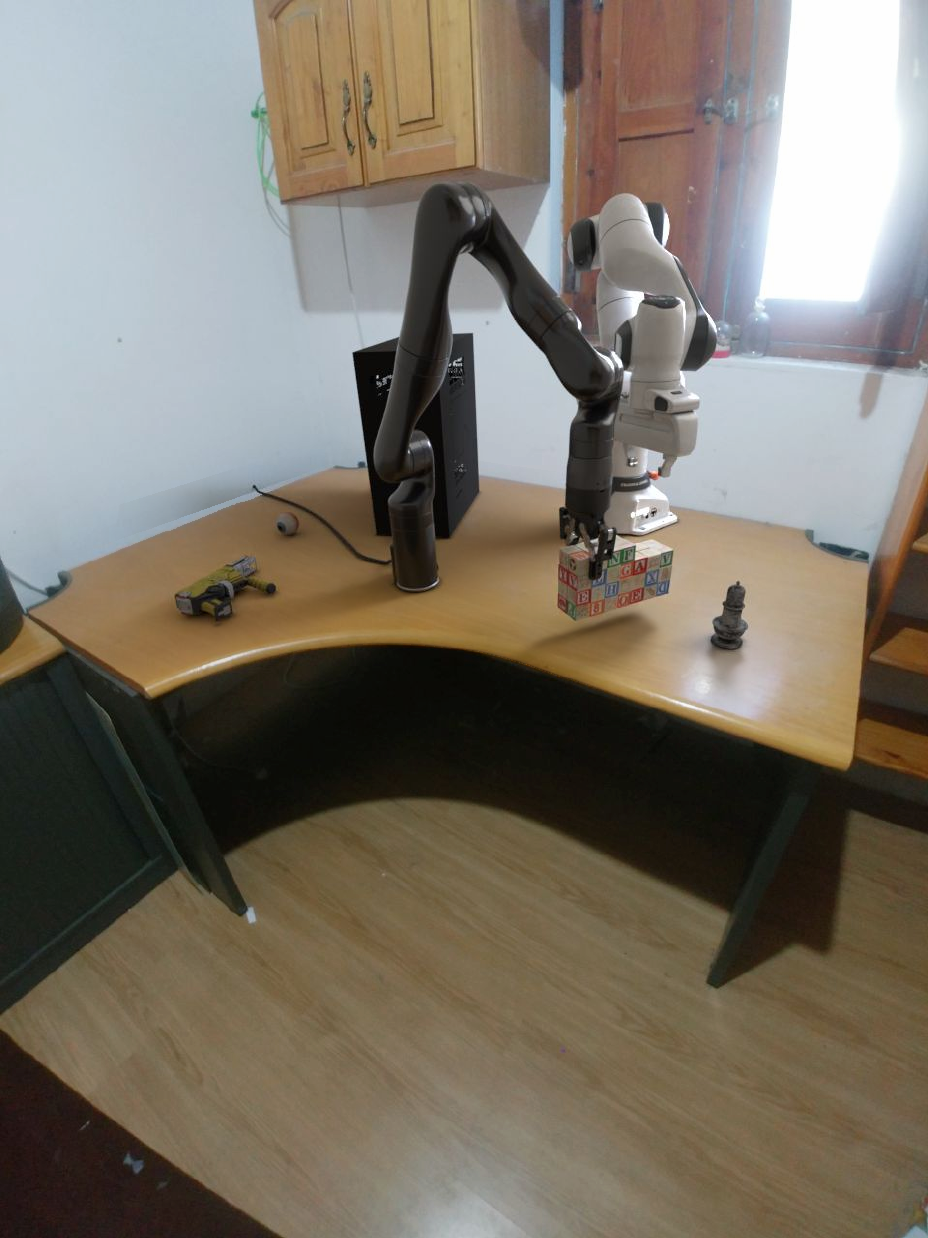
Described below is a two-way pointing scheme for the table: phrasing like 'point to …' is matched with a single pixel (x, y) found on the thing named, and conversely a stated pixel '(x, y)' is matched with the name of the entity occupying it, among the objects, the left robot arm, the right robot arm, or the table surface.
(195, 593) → the toy gun
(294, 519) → the eyeball
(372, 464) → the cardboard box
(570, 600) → the stack of blocks
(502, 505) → the table surface
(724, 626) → the grey chess piece
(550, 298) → the left robot arm
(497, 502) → the table surface
